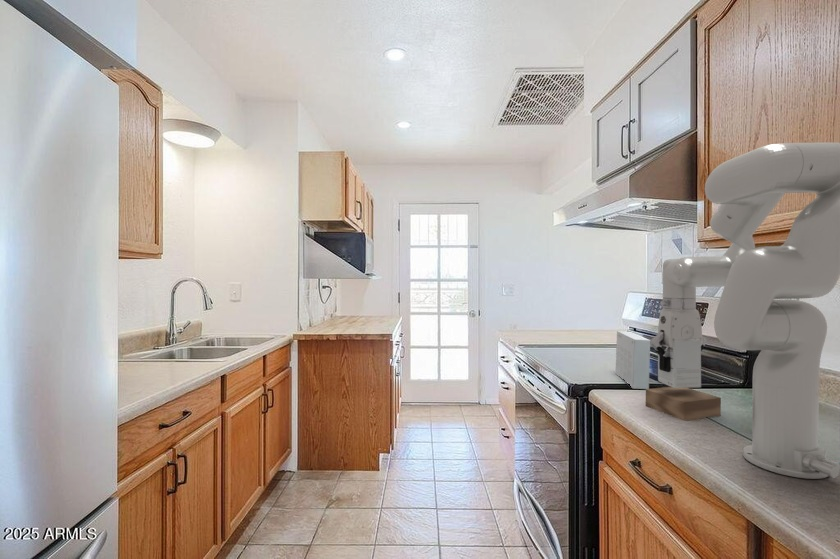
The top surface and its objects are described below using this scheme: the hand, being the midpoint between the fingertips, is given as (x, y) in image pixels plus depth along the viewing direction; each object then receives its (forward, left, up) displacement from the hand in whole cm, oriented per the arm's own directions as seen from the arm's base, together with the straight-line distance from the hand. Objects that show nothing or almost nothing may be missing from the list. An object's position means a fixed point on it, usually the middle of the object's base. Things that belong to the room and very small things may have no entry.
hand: (678, 369), depth 111 cm
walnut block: (-1, 0, -11) cm, 11 cm away
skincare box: (+29, -8, -11) cm, 32 cm away
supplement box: (0, 0, -4) cm, 4 cm away
